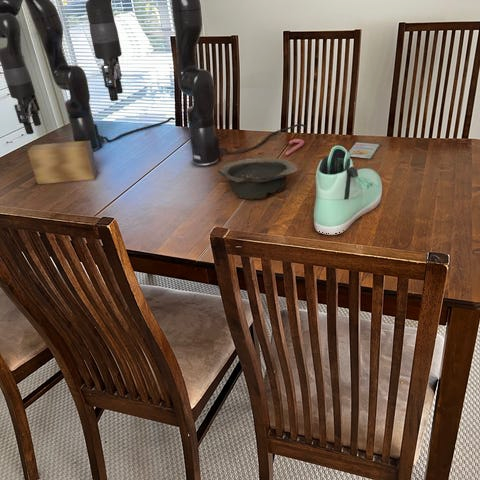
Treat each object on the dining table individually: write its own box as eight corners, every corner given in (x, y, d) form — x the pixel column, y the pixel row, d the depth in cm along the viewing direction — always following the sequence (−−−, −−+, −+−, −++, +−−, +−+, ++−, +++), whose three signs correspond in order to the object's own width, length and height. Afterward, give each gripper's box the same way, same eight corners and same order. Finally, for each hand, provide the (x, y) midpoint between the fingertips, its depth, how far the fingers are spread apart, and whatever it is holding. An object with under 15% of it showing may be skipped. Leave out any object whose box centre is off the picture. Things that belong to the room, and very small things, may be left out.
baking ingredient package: (345, 155, 171) (356, 141, 183) (345, 156, 172) (356, 142, 183) (370, 157, 168) (379, 143, 179) (370, 158, 168) (379, 145, 180)
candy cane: (273, 154, 179) (273, 150, 178) (293, 141, 189) (293, 137, 188) (287, 156, 176) (287, 152, 175) (307, 143, 186) (307, 139, 185)
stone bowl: (243, 213, 140) (240, 183, 136) (209, 189, 160) (205, 162, 156) (313, 190, 149) (312, 161, 144) (272, 170, 169) (270, 144, 165)
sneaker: (389, 187, 148) (396, 123, 138) (356, 242, 123) (361, 168, 112) (346, 181, 154) (350, 119, 144) (306, 232, 129) (307, 161, 118)
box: (37, 184, 170) (27, 151, 164) (42, 177, 176) (32, 145, 169) (94, 179, 171) (86, 146, 164) (97, 172, 176) (90, 140, 169)
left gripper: (23, 85, 149) (39, 135, 157) (37, 74, 161) (51, 121, 169) (-1, 87, 148) (16, 137, 157) (14, 76, 161) (29, 123, 169)
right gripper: (114, 42, 130) (125, 102, 139) (122, 34, 142) (132, 90, 151) (86, 44, 130) (99, 104, 138) (97, 36, 142) (108, 92, 151)
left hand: (34, 129), depth 163 cm, fingers open, 8 cm apart
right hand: (117, 96), depth 145 cm, fingers open, 8 cm apart
